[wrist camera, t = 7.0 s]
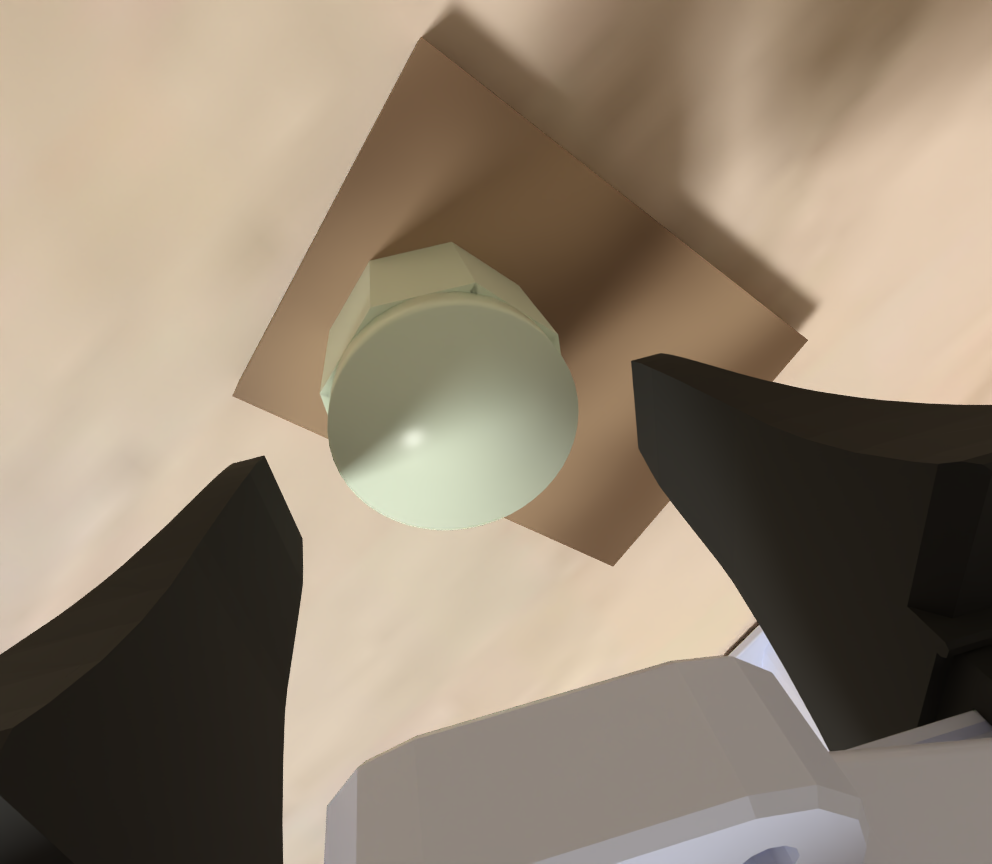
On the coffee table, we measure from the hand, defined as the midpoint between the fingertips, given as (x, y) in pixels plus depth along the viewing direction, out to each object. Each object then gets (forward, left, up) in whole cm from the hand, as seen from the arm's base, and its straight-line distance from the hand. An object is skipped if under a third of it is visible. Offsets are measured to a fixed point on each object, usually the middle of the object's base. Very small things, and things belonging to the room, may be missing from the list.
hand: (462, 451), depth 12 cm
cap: (0, 0, -6) cm, 6 cm away
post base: (-3, -1, -7) cm, 8 cm away
